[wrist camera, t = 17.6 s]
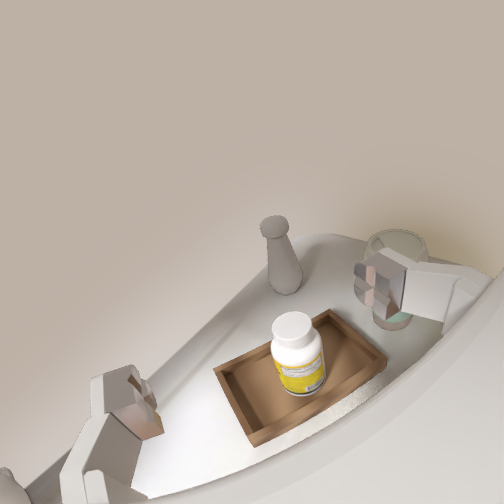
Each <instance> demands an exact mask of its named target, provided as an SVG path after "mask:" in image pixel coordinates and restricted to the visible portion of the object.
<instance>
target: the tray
mask: <svg viewBox="0 0 504 504" xmlns="http://www.w3.org/2000/svg"><path fill="white" fill-rule="evenodd" d="M311 321H312V326H313V328H314V329H316V330H317V331H318V333H319V334H320V336H321V340H322V347H323V354H324V362H325V371H326V379H325V382H324V384H323V386H322V387H321V388H320V389H319V390H318V391H317V392H315V393H314V394H311V395H308V396H295V395H292V394H290V393H288V392H287V391H286V390H285V389H284V387H283V385H282V383H281V380H280V377H279V374H278V371H277V368H276V365H275V362H274V359H273V356H272V353H271V342H272V340H271V341H269V342H268V343H266V344H264V345H262V346H260V347H258V348H256V349H254V350H252V351H250V352H247V353H245V354H243V355H241V356H239V357H237V358H235V359H233V360H231V361H229V362H227V363H224V364H222V365H220V366H218V367H216V368H213V370H214V372H215V374H216V376H217V378H218V380H219V382H220V384H221V387H222V389H223V391H224V393H225V395H226V397H227V399H228V401H229V403H230V405H231V407H232V409H233V411H234V413H235V415H236V417H237V419H238V420H239V422H240V424H241V426H242V428H243V430H244V432H245V434H246V436H247V437H248V439H249V441H250V443H251V444H252V445H253V447H254V448H255V447H257V446H260V445H262V444H264V443H266V442H268V441H270V440H272V439H274V438H276V437H278V436H280V435H282V434H284V433H285V432H287V431H289V430H291V429H293V428H295V427H297V426H298V425H300V424H302V423H304V422H305V421H307V420H309V419H311V418H312V417H314V416H316V415H317V414H319V413H321V412H322V411H324V410H326V409H327V408H329V407H330V406H332V405H334V404H335V403H337V402H338V401H340V400H341V399H343V398H344V397H346V396H347V395H349V394H350V393H352V392H353V391H355V390H356V389H358V388H359V387H360V386H362V385H363V384H365V383H366V382H367V381H369V380H370V379H372V378H373V377H374V376H376V375H377V374H378V373H380V372H381V371H382V370H384V369H385V368H386V364H387V357H386V356H384V355H383V354H382V353H381V352H380V351H379V350H377V349H376V348H375V347H374V346H373V345H372V344H370V343H369V342H368V341H367V340H366V339H365V338H363V337H362V336H361V335H360V334H359V333H358V332H356V331H355V330H354V329H353V328H352V327H351V326H349V325H348V324H347V323H346V322H345V321H344V320H342V319H341V318H340V317H339V316H338V315H337V314H335V313H334V312H333V311H332V310H331V309H328V310H326V311H325V312H323V313H321V314H319V315H318V316H316V317H314V318H312V319H311Z"/></svg>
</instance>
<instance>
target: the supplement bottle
mask: <svg viewBox="0 0 504 504" xmlns="http://www.w3.org/2000/svg"><path fill="white" fill-rule="evenodd" d="M272 333H273V339H272V342H271V353H272V356H273V359H274V362H275V365H276V368H277V371H278V374H279V377H280V380H281V383H282V385H283V387H284V389H285V390H286V391H287V392H288V393H290V394H292V395H295V396H308V395H311V394H314V393H315V392H317V391H318V390H319V389H320V388H321V387H322V386H323V384H324V382H325V379H326V371H325V362H324V354H323V347H322V340H321V336H320V334H319V333H318V331H317V330H316V329H314V328H313V326H312V321H311V319H310V317H309V316H308V315H307V314H305V313H303V312H299V311H291V312H287V313H284V314H282V315H280V316H279V317H278V318H276V319H275V321H274V322H273V324H272Z"/></svg>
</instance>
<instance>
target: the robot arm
mask: <svg viewBox="0 0 504 504" xmlns="http://www.w3.org/2000/svg"><path fill="white" fill-rule="evenodd" d="M354 274H355V275H356V276H357V278H356V281H355V283H354V291H355V294H356V296H357V298H358V299H359V301H360V302H361V303H363V304H364V305H366V306H372V309H373V312H374V313H376V314H377V315H378V316H380V317H381V318H382V319H384V320H385V321H386V320H387V319H389V318H390V317H392V316H393V315H395V314H396V313H398V312H399V311H400V310H401V311H402V312H406V313H409V314H413V315H417V316H421V317H425V318H428V319H432V320H436V321H440V322H444V324H443V327H442V331H441V333H442V335H443V337H442V338H441V339H440V340H439V341H438V342H437V343H436V344H435V345H434V346H433V347H432V348H431V349H430V350H429V351H428V352H426V353H425V354H424V355H423V356H422V357H421V358H420V359H419V360H417V361H416V362H415V363H414V364H413V365H412V366H410V367H409V368H408V369H407V370H406V371H404V372H403V373H402V374H401V375H400V376H398V377H397V378H396V379H395V380H393V381H392V382H391V383H390V384H388V385H387V386H386V387H384V388H383V389H382V390H380V391H379V392H378V393H376V394H375V395H374V396H372V397H371V398H369V399H368V400H367V401H365V402H364V403H362V404H361V405H359V406H358V407H357V408H355V409H354V410H352V411H351V412H349V413H348V414H346V415H345V416H343V417H341V418H340V419H338V420H337V421H335V422H334V423H332V424H330V425H329V426H327V427H325V428H324V429H322V430H320V431H319V432H317V433H315V434H313V435H312V436H310V437H308V438H306V439H304V440H303V441H301V442H299V443H297V444H295V445H293V446H291V447H289V448H288V449H286V450H284V451H282V452H280V453H278V454H276V455H273V456H271V457H269V458H267V459H265V460H263V461H261V462H258V463H256V464H254V465H252V466H249V467H247V468H245V469H242V470H240V471H237V472H235V473H232V474H230V475H227V476H225V477H222V478H219V479H216V480H214V481H211V482H208V483H205V484H202V485H199V486H196V487H193V488H189V489H186V490H183V491H179V492H176V493H172V494H168V495H164V496H160V497H156V498H152V499H148V497H147V496H146V495H144V494H142V493H140V492H138V491H136V490H134V489H132V488H130V487H131V483H132V479H133V475H134V471H135V467H136V464H137V460H138V456H139V452H140V449H141V445H142V442H141V441H143V440H146V439H149V438H152V437H155V436H158V435H160V434H163V433H164V429H163V425H162V422H161V418H160V416H159V415H158V414H157V413H156V411H155V410H156V408H157V403H156V399H155V397H154V394H153V392H152V390H151V388H150V386H149V385H148V383H147V382H146V381H145V380H143V379H140V376H139V371H138V370H137V369H136V367H135V366H134V365H128V366H125V367H122V368H119V369H116V370H113V371H110V372H107V373H105V374H102V375H99V376H96V377H92V378H91V380H90V405H91V406H90V408H91V418H90V419H87V421H86V423H85V424H84V427H83V428H82V430H81V432H80V434H79V436H78V438H77V440H76V442H75V444H74V446H73V448H72V450H71V452H70V454H69V456H68V458H67V460H66V462H65V464H64V466H63V468H62V470H61V472H60V474H59V476H60V488H61V497H62V504H504V268H503V269H502V271H501V272H500V273H499V275H498V276H497V277H496V279H495V280H494V279H493V278H490V277H489V276H487V275H486V274H484V273H482V272H480V271H478V270H477V269H475V268H473V267H470V266H461V265H451V264H441V263H431V262H421V261H419V262H418V263H417V262H415V261H413V260H411V259H409V258H407V257H405V256H403V255H402V254H400V253H398V252H396V251H394V250H392V249H390V248H385V247H384V248H383V249H381V250H379V251H378V252H376V253H375V254H373V255H371V256H369V257H367V258H365V259H363V260H362V261H360V262H358V263H356V264H355V267H354ZM0 504H31V501H30V499H29V497H28V495H27V493H26V492H25V490H24V489H23V488H22V487H21V486H20V485H19V484H18V483H17V482H16V481H15V479H14V477H13V474H12V472H11V471H10V470H9V469H7V468H5V467H3V468H0Z"/></svg>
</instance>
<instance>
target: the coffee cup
mask: <svg viewBox="0 0 504 504" xmlns="http://www.w3.org/2000/svg"><path fill="white" fill-rule="evenodd" d="M384 247H385V248H390V249H392V250H394V251H396V252H398V253H400V254H402V255H403V256H405V257H407V258H409V259H411V260H413V261H415V262H417V263H418V262H419V261H421V262H429V257H428V251H427V248H426V244H425V241H424V240H423V238H422V237H420V236H419V235H418V234H415V233H414V232H411V231H407V230H401V229H400V230H399V229H391V230H384V231H381V232H378V233H376V234H374V235H373V236H372V237H371V238H370V239H369V240H368V242H367V246H366V248H365V250H364V256H363V259H365V258H367V257H369V256H371V255H373V254H375V253H376V252H378V251H379V250H381V249H383V248H384ZM372 310H373V309H372ZM412 315H413V314H409V313H406V312H402V311H401V310H400V311H399V312H398V313H396V314H395V315H393V316H392V317H390V318H389V319H387V320H386V321H385V320H384V319H382V318H381V317H380V316H378V315H377V314H376V313H374V312H373V318H374V321H375V323H376V324H377V325H378V326H379V327H381V328H383V329H386V330H399V329H402V328H404V327H406V326H407V325H408V324H409V322H410V321H411V318H412Z"/></svg>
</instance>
